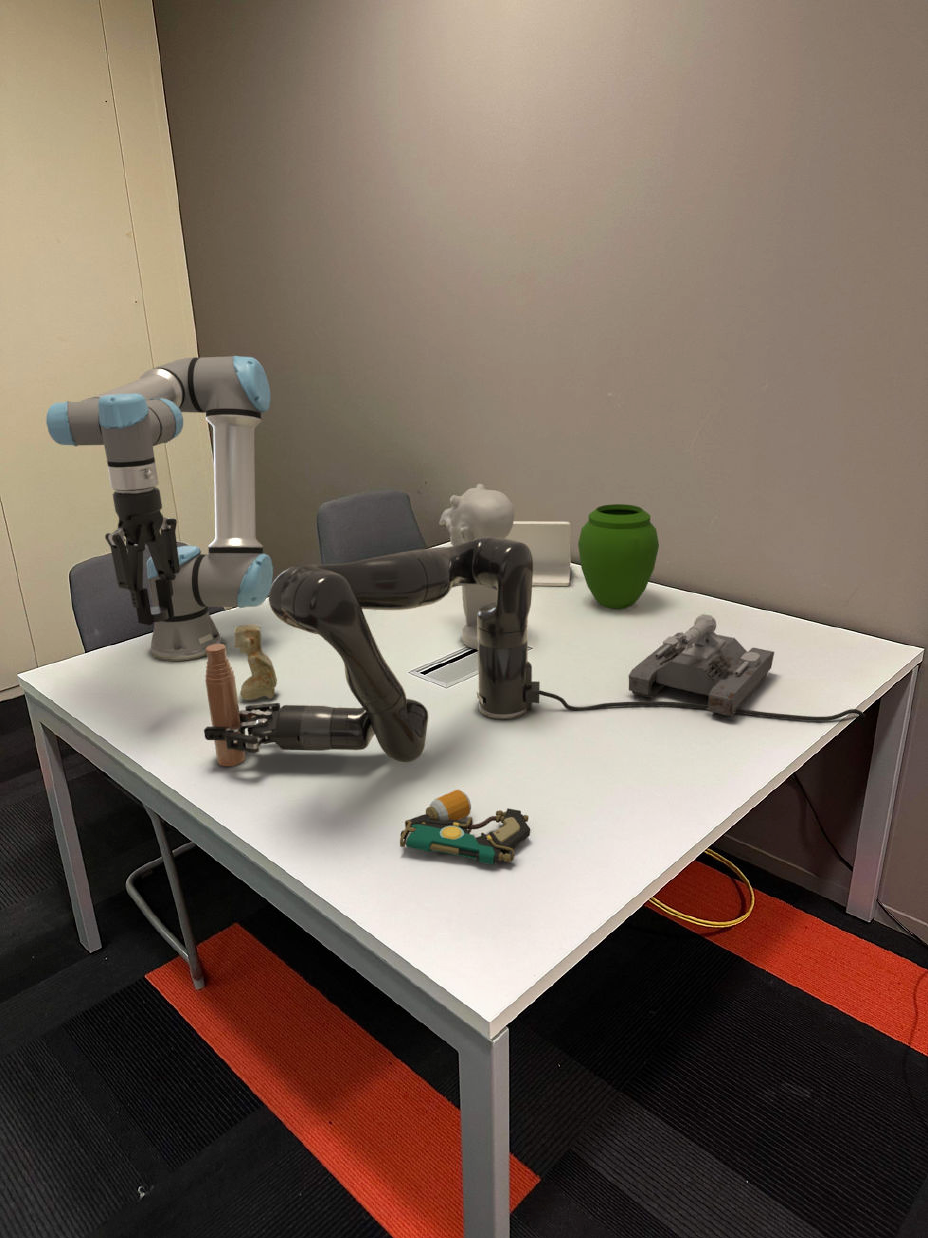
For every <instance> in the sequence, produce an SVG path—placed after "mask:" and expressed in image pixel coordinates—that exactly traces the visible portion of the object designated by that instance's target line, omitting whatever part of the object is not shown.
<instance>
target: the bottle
mask: <svg viewBox="0 0 928 1238" xmlns="http://www.w3.org/2000/svg"><path fill="white" fill-rule="evenodd" d="M206 654H207V655H206V658H207V662H206V667H205V674H204V675H205V676H204V677H205V679H204V681H205V688H206V694H207V702H208V707H209V708H208V709H209V715H210V721H211V727H227V728H228V727H234V726H239V725H240V724H241V720H240V713H239V711H240V706H239V705H240V704H239V699H238V691H237V684H236V677H235V674H234V670H233V667H232V666H231V663H230V662H229V658H228V657H227V647H226V645H225V644H223V643H221V644H213V645H210V646H208V647H207V648H206ZM233 733H237V734H241V733H240V732H233ZM213 742H214V746H215V748H214V749H215V755H216V763H217V764H218V765H219V766H221V767H235V766H237V765H241V764H242V763H243V762H244V761H245V760H246V752H244V751H239V750H233V749H228V748H227V746H226V745H227V744H226V741H224V740H213ZM236 744H237V743H236Z"/></svg>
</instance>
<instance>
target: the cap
mask: <svg viewBox="0 0 928 1238" xmlns="http://www.w3.org/2000/svg"><path fill="white" fill-rule="evenodd" d="M150 609H151V615H152V621H153V623H155V622H160V621H164V620H166V619H168V618H169V614H168V608H166V607H153V606H152V607H151V606H150Z"/></svg>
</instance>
